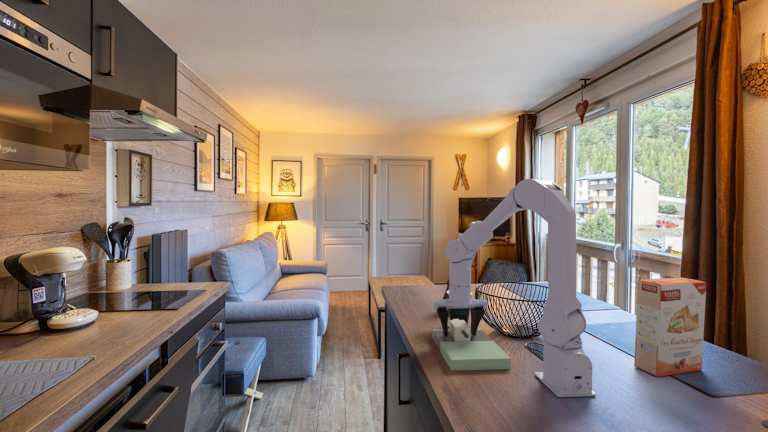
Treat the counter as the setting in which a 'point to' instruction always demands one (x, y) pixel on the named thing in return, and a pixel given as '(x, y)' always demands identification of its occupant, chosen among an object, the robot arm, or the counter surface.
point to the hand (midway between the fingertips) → (459, 334)
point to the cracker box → (670, 325)
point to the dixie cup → (459, 312)
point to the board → (471, 352)
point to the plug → (459, 330)
